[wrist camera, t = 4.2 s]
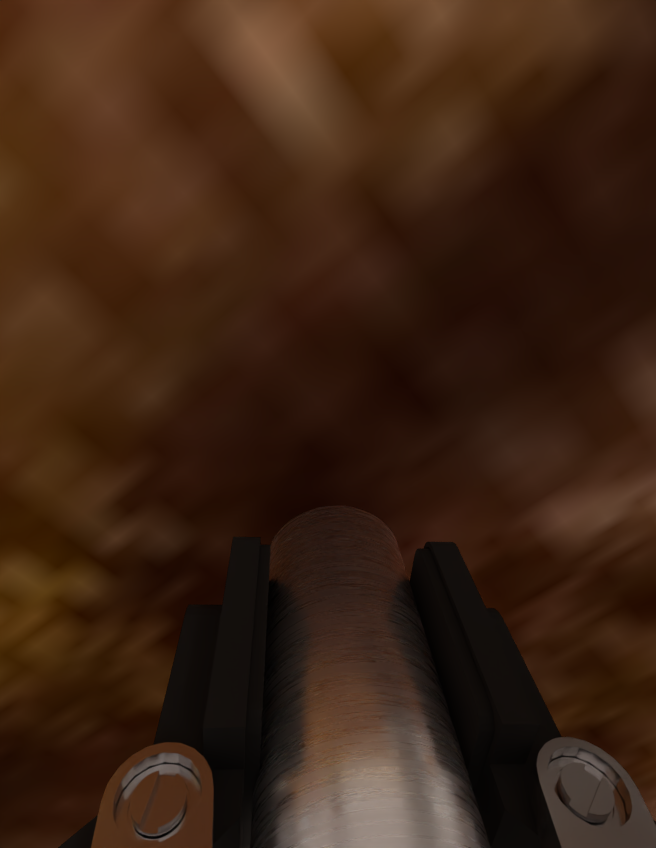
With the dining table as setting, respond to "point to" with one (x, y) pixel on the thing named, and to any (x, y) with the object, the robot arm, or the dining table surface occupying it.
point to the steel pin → (353, 700)
